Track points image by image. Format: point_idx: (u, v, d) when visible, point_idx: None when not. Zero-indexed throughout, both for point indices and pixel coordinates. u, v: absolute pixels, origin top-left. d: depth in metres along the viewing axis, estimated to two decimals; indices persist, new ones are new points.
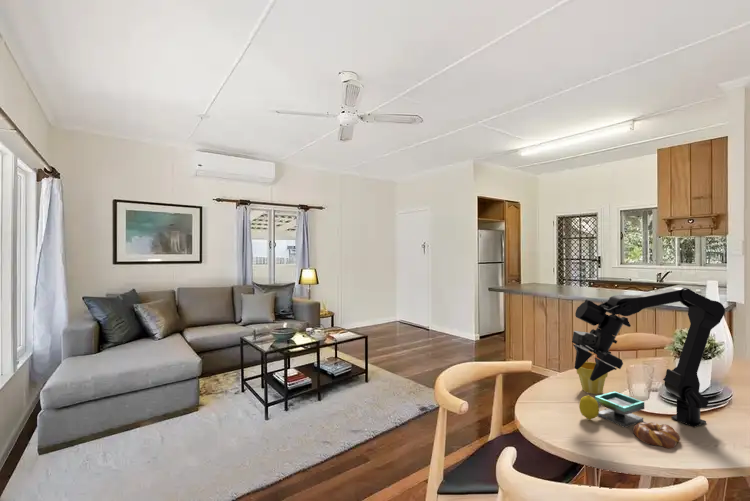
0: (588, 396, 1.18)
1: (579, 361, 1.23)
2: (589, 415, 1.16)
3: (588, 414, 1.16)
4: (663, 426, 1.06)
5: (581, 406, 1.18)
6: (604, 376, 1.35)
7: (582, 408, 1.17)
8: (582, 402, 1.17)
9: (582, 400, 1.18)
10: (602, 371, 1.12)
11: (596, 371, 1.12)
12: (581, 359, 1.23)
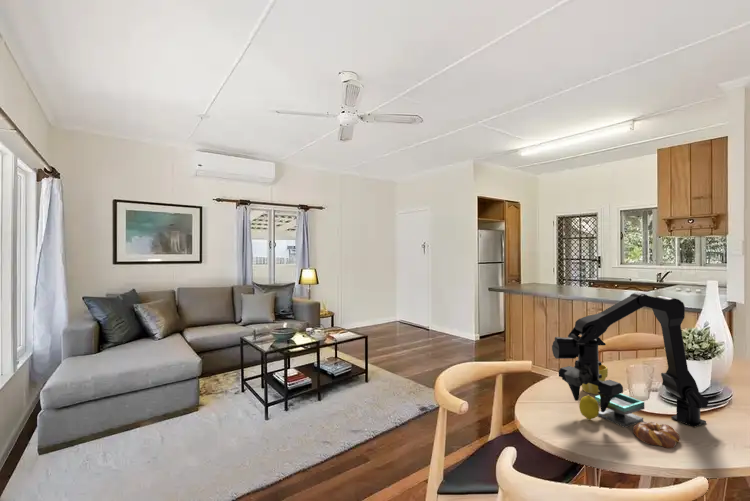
0: (588, 396, 1.18)
1: (576, 392, 1.22)
2: (589, 415, 1.16)
3: (588, 414, 1.16)
4: (663, 426, 1.07)
5: (581, 406, 1.17)
6: (604, 376, 1.35)
7: (582, 408, 1.17)
8: (582, 402, 1.17)
9: (582, 400, 1.18)
10: (608, 399, 1.13)
11: (604, 403, 1.12)
12: (576, 389, 1.22)
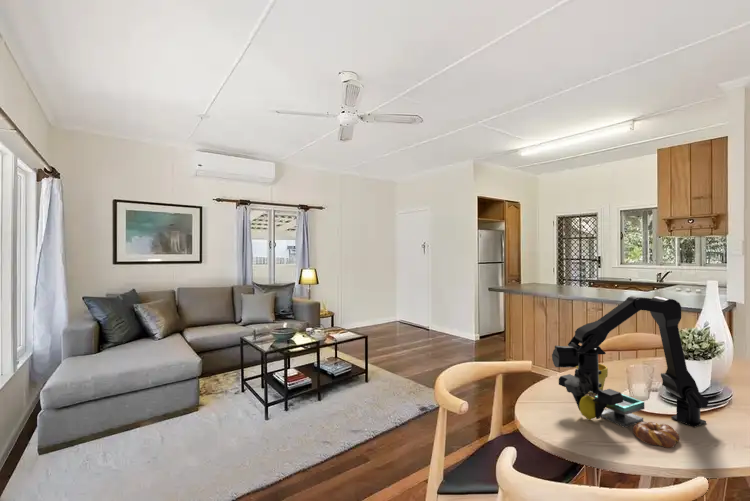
0: (588, 396, 1.18)
1: None
2: (589, 415, 1.16)
3: (588, 414, 1.16)
4: (662, 426, 1.07)
5: (581, 406, 1.18)
6: (604, 376, 1.35)
7: (582, 408, 1.17)
8: (582, 402, 1.17)
9: (582, 400, 1.18)
10: (602, 406, 1.14)
11: (599, 410, 1.14)
12: (580, 399, 1.21)
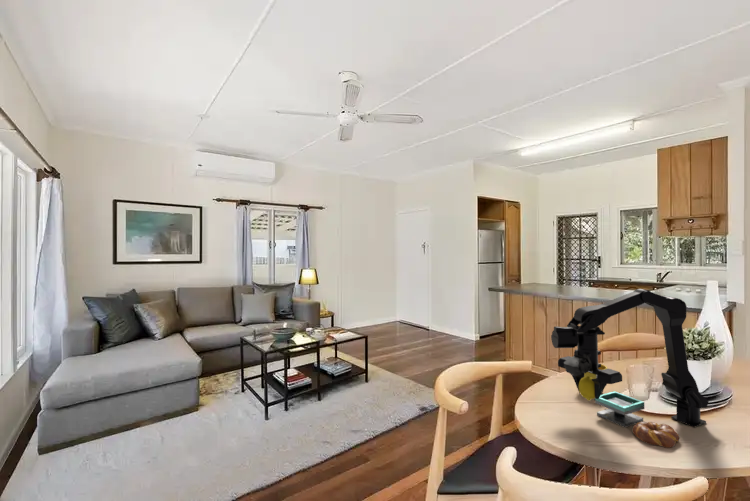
0: (587, 377, 1.17)
1: None
2: (589, 396, 1.16)
3: (588, 394, 1.16)
4: (662, 426, 1.07)
5: (580, 387, 1.17)
6: None
7: (582, 388, 1.17)
8: (581, 382, 1.17)
9: (581, 381, 1.18)
10: (602, 386, 1.14)
11: (598, 390, 1.14)
12: None
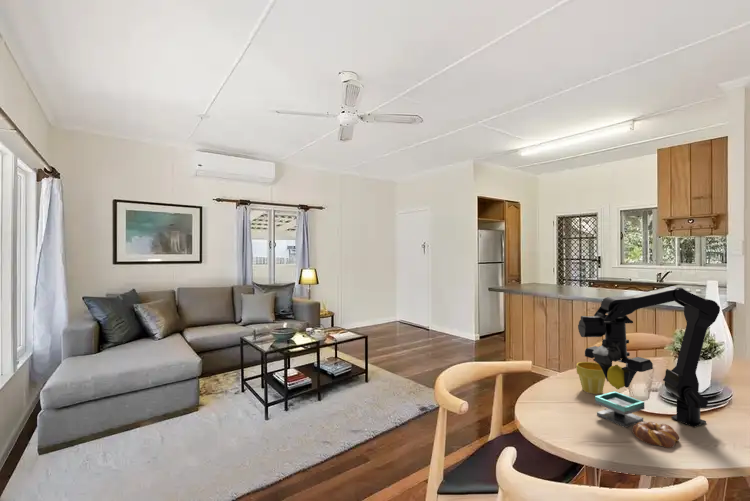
0: (616, 365, 1.18)
1: None
2: (618, 384, 1.16)
3: (617, 383, 1.16)
4: (662, 426, 1.07)
5: (609, 376, 1.18)
6: (604, 376, 1.35)
7: (611, 377, 1.17)
8: (610, 371, 1.18)
9: (610, 370, 1.18)
10: (631, 375, 1.14)
11: (628, 378, 1.14)
12: None
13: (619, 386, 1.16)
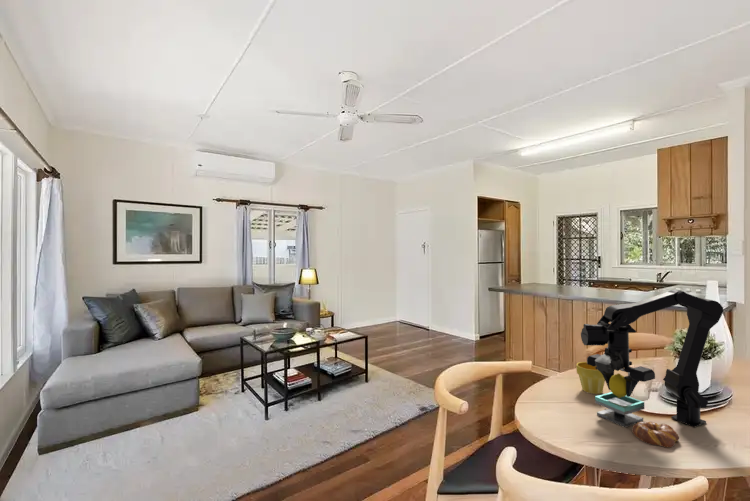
0: (618, 374, 1.18)
1: None
2: (620, 393, 1.16)
3: (619, 392, 1.16)
4: (662, 425, 1.07)
5: (611, 384, 1.18)
6: None
7: (613, 386, 1.17)
8: (612, 380, 1.18)
9: (612, 378, 1.18)
10: (633, 384, 1.15)
11: (630, 387, 1.14)
12: None
13: (621, 395, 1.16)
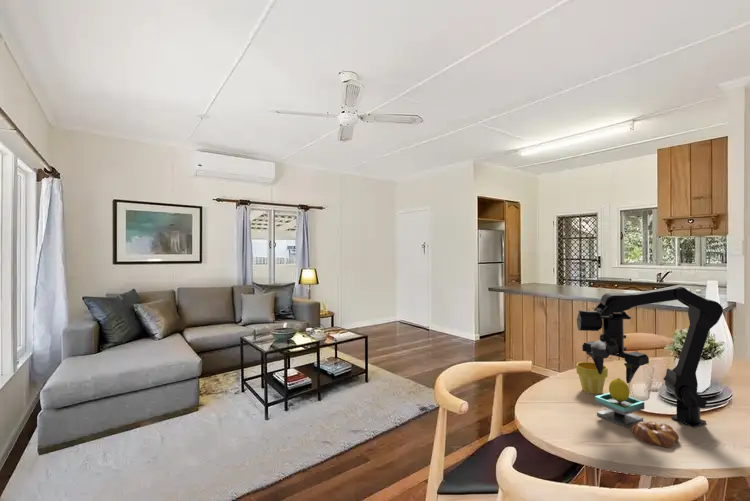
0: (618, 379, 1.18)
1: (600, 365, 1.25)
2: (620, 398, 1.16)
3: (619, 396, 1.16)
4: (662, 425, 1.07)
5: (611, 389, 1.18)
6: (604, 376, 1.35)
7: (613, 391, 1.17)
8: (612, 384, 1.18)
9: (612, 383, 1.18)
10: (633, 371, 1.16)
11: (630, 374, 1.15)
12: (600, 362, 1.25)
13: (621, 400, 1.16)
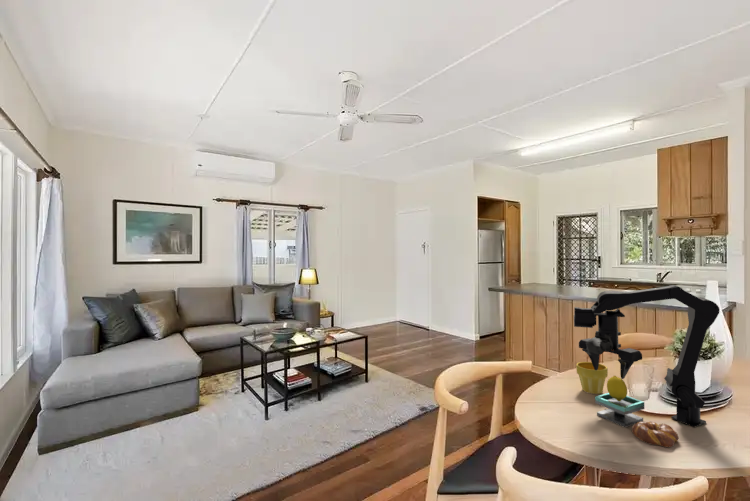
0: (614, 376, 1.20)
1: (595, 362, 1.28)
2: (618, 394, 1.17)
3: (617, 392, 1.17)
4: (662, 425, 1.07)
5: (609, 386, 1.19)
6: (604, 376, 1.35)
7: (610, 387, 1.19)
8: (609, 381, 1.20)
9: (609, 380, 1.20)
10: (627, 367, 1.19)
11: (624, 370, 1.19)
12: (595, 359, 1.29)
13: (619, 396, 1.17)
